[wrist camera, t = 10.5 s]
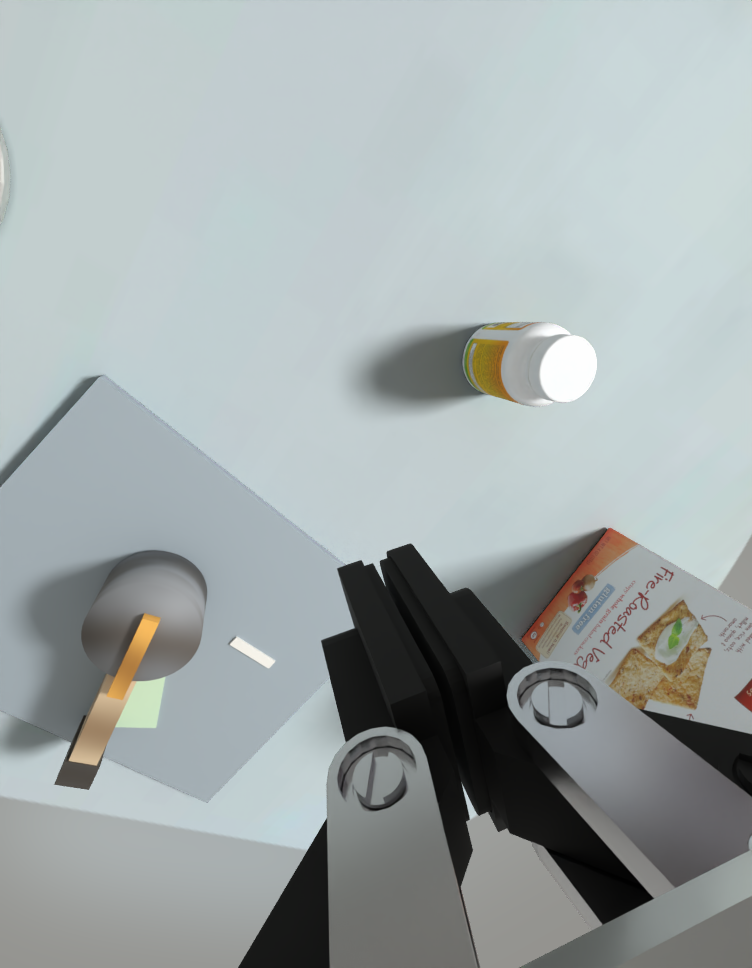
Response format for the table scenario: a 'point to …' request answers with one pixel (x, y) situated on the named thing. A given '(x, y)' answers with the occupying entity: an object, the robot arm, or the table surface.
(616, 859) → the robot arm
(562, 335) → the supplement bottle
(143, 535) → the board
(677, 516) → the table surface
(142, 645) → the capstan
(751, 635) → the cracker box
